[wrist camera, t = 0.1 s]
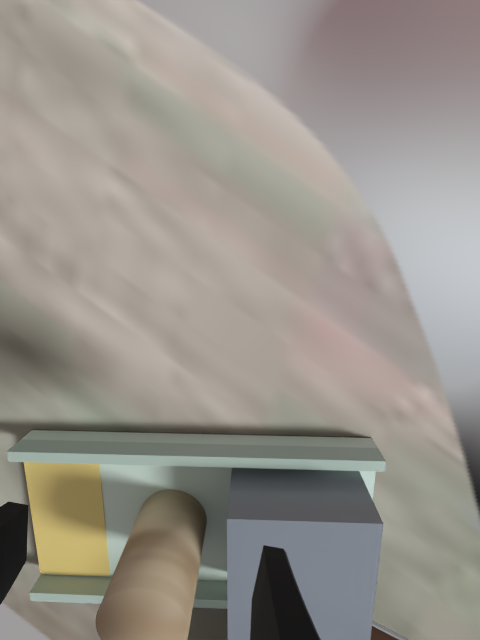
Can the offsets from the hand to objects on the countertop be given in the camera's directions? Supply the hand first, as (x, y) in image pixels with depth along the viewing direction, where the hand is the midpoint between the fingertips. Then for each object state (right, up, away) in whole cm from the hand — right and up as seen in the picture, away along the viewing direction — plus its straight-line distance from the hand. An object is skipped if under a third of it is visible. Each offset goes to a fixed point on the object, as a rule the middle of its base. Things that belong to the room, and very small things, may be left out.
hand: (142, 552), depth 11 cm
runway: (+1, -5, +11) cm, 12 cm away
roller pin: (-1, -5, +10) cm, 11 cm away
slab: (+6, -5, +10) cm, 13 cm away
